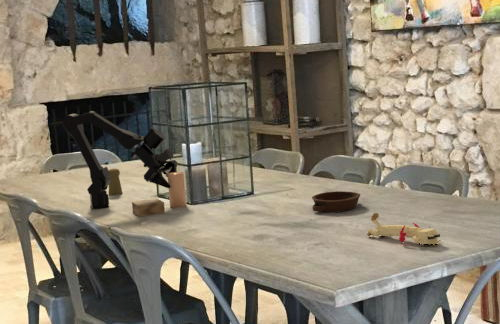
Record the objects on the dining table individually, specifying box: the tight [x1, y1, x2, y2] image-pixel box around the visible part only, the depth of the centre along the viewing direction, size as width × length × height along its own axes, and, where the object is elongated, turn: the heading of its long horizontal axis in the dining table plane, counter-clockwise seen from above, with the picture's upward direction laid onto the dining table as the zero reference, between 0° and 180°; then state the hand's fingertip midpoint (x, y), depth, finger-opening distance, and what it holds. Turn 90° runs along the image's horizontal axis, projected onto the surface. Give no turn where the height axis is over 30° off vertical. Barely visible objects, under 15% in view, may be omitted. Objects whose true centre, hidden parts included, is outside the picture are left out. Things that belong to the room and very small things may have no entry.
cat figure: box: [366, 212, 442, 245], centre depth 266 cm, size 10×9×25 cm
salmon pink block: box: [167, 171, 187, 209], centre depth 343 cm, size 6×6×13 cm
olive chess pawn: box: [108, 168, 123, 196], centre depth 379 cm, size 6×6×11 cm
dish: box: [311, 190, 361, 213], centre depth 320 cm, size 18×22×5 cm
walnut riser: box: [131, 198, 166, 217], centre depth 336 cm, size 10×10×4 cm
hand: (175, 185), depth 343 cm, fingers open, 9 cm apart
